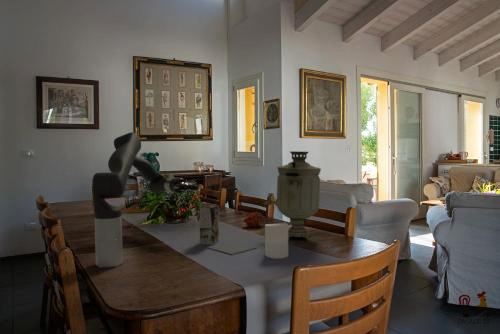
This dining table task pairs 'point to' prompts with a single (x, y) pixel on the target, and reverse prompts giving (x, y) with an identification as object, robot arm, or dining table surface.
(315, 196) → the samovar
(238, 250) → the mat
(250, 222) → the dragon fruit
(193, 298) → the dining table surface
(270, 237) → the base with upright slab
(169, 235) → the dining table surface
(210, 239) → the coffee box
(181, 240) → the dining table surface
